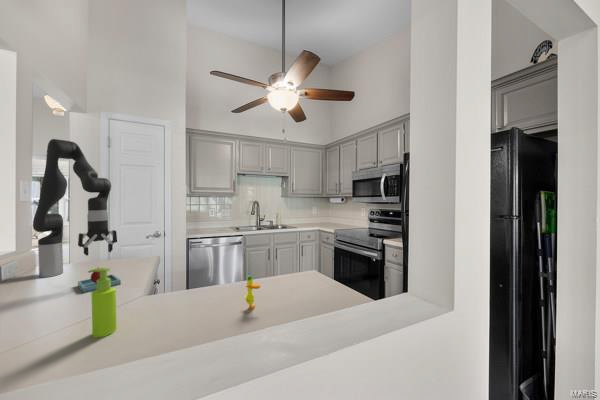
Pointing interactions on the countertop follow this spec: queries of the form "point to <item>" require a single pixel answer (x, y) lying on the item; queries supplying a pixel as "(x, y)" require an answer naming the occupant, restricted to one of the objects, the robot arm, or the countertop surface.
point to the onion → (95, 276)
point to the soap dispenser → (103, 305)
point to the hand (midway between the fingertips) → (98, 253)
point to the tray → (91, 286)
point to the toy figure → (250, 291)
